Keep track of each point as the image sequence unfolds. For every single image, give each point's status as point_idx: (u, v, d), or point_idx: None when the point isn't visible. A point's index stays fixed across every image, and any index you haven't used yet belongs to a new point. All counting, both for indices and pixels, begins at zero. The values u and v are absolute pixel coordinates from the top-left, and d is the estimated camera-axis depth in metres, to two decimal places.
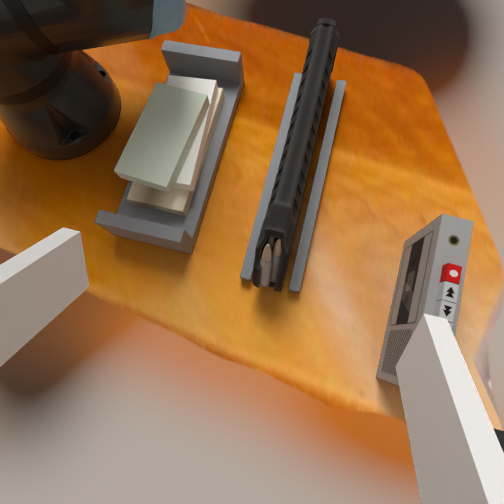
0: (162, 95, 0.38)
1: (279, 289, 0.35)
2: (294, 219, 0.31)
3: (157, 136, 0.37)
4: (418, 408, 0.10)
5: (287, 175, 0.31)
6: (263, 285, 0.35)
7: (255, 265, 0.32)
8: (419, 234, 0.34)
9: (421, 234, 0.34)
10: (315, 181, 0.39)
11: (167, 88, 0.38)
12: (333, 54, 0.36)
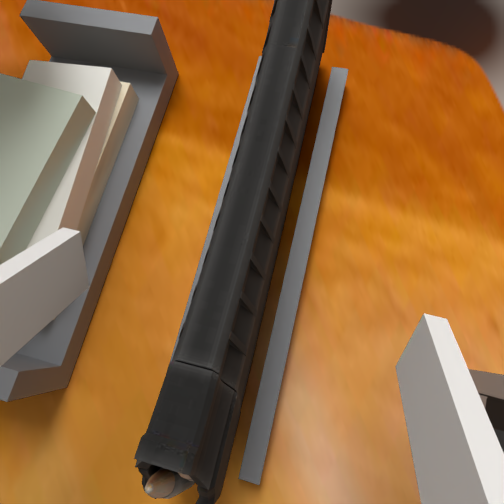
0: None
1: None
2: (232, 383, 0.13)
3: None
4: (418, 407, 0.10)
5: (214, 281, 0.13)
6: None
7: (144, 485, 0.14)
8: None
9: None
10: (293, 253, 0.21)
11: (9, 83, 0.20)
12: (323, 10, 0.18)
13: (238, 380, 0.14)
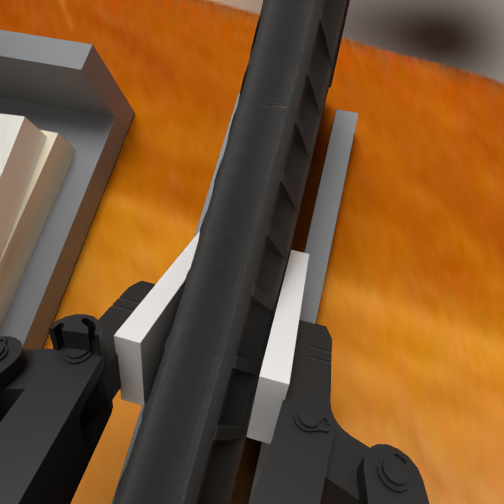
0: None
1: None
2: None
3: None
4: None
5: None
6: None
7: None
8: None
9: None
10: None
11: None
12: (333, 39, 0.12)
13: None
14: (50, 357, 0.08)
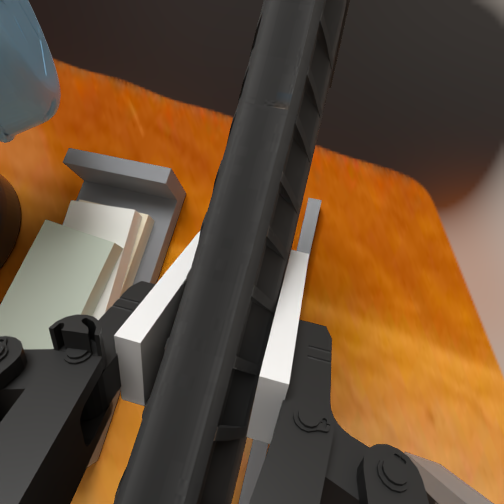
0: (51, 241, 0.26)
1: None
2: None
3: (37, 309, 0.25)
4: None
5: None
6: None
7: None
8: (426, 479, 0.22)
9: (429, 485, 0.22)
10: None
11: (59, 230, 0.27)
12: (333, 40, 0.12)
13: None
14: (50, 357, 0.08)
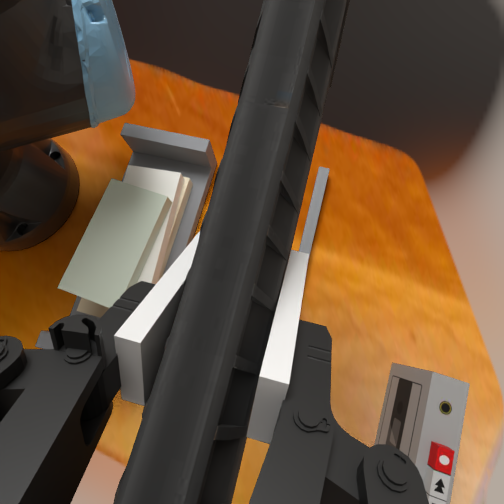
0: (117, 195, 0.33)
1: None
2: None
3: (108, 246, 0.32)
4: None
5: None
6: None
7: None
8: (407, 372, 0.30)
9: (409, 374, 0.29)
10: None
11: (122, 186, 0.34)
12: (333, 39, 0.12)
13: None
14: (50, 357, 0.08)
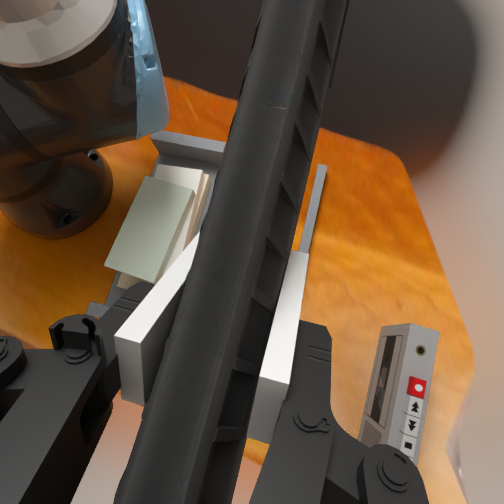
0: (150, 189, 0.40)
1: None
2: None
3: (145, 231, 0.39)
4: None
5: None
6: None
7: None
8: (392, 329, 0.36)
9: (394, 330, 0.36)
10: None
11: (155, 181, 0.40)
12: (333, 40, 0.12)
13: None
14: (50, 357, 0.08)
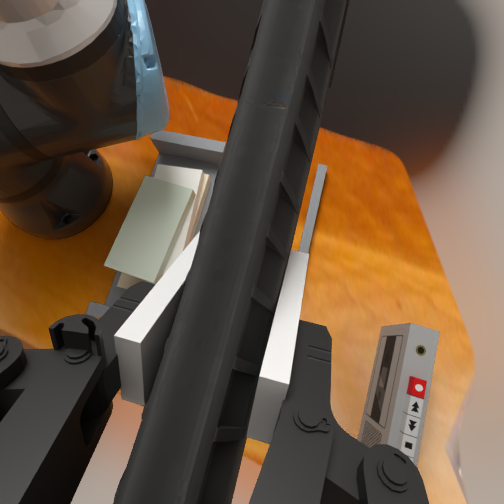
0: (150, 189, 0.40)
1: None
2: None
3: (145, 231, 0.39)
4: None
5: None
6: None
7: None
8: (392, 329, 0.36)
9: (394, 330, 0.36)
10: None
11: (155, 181, 0.40)
12: (333, 40, 0.12)
13: None
14: (50, 357, 0.08)
